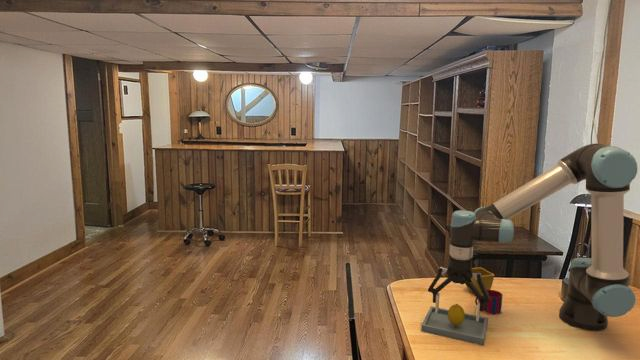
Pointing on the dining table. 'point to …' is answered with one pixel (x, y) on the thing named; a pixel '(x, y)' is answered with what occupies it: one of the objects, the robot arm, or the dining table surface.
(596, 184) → the robot arm
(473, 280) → the flower pot
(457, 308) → the lemon
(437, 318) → the tray
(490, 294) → the mug
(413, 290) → the dining table surface
